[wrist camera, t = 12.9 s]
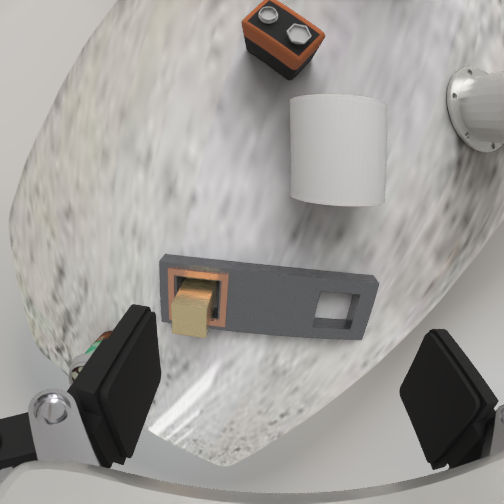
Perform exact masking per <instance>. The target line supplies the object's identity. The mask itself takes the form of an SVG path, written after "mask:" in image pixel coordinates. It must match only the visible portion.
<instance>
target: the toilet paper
mask: <svg viewBox="0 0 504 504" xmlns="http://www.w3.org/2000/svg"><path fill="white" fill-rule="evenodd" d="M386 162H387V104H386V103H385V102H383V101H381V100H378V99H374V98H369V97H364V96H357V95H348V94H310V95H302V96H297V97H293V98H291V99H290V165H291V184H290V195H291V197H292V198H294V199H297V200H300V201H304V202H309V203H316V204H323V205H334V206H375V205H380V204H383V203H384V200H385V184H386Z"/></svg>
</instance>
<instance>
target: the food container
mask: <svg viewBox="0 0 504 504" xmlns="http://www.w3.org/2000/svg"><path fill="white" fill-rule="evenodd" d="M111 333H112V331H108V332H105V333H103V334H102V335H101V336H100V337H99V338H98V339H97V340H96V341H95V342H94V344H93V345H92V346H91V347H90V348H89V349H88V350H87V351H86V353H85V354H82V355H79V356H77V357H76V358H75V359H74V360H73V362H72V364H71V367H70V370H69V382H70V385H72V383H73V382H74V380H75V379H76V377H77V376H78V374H79V373H80V371H81V370H82V368H83V367H84V365H85V364H86V362H87V361H88V359H89V358H90V357H91V355H92V354H93V352H94V351H95V349H96V348H97V347H98V345H99V344H100V342H101V341H102V340H103V339H105V338H107V339H108V337H109V336H110V334H111Z"/></svg>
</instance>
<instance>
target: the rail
mask: <svg viewBox="0 0 504 504" xmlns="http://www.w3.org/2000/svg"><path fill="white" fill-rule="evenodd" d="M159 268H160V297H161V316H162V322H168V323H172V311H171V304H172V302H173V300H174V298H175V296H176V294H177V293H178V291H179V289H180V287H181V277H188V278H197V279H205V280H214V281H220V287H219V305H218V309H217V308H214V311H213V315H212V318H211V322H210V325H209V328H211V329H219V330H227V331H236V332H245V333H255V334H266V335H278V336H291V337H305V338H322V339H344V340H362V338H363V335H364V332H365V329H366V326H367V323H368V320H369V317H370V313H371V310H372V307H373V304H374V300H375V297H376V294H377V290H378V287H379V282H378V281H377V280H376V278H375V277H374V276H373V275H363V274H352V273H342V272H332V271H321V270H311V269H301V268H291V267H281V266H272V265H262V264H252V263H243V262H233V261H224V260H215V259H205V258H196V257H187V256H178V255H169V254H165V255H164V256H163V257H162V259H161V260H160V261H159ZM320 291H325V292H337V293H349V294H353V298H352V301H351V305H350V309H349V312H348V316H347V319H346V320H342V319H326V318H314V317H315V312H316V308H317V303H318V299H319V294H320Z"/></svg>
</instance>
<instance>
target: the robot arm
mask: <svg viewBox="0 0 504 504" xmlns="http://www.w3.org/2000/svg"><path fill="white" fill-rule="evenodd" d="M447 106H448V111H449V115H450V118H451V121H452V124H453V126H454V128H455V130H456V132H457V133H458V135H459V136H460V138H461V139H462V140H463V141H464V142H465V143H466V144H467V145H468V146H469V147H471V148H472V149H474V150H476V151H480V152H487V153H488V152H493V151H495V150H497V149H499V148H500V147H501V146H502V144H504V71H503V72H497V73H491V74H488V73H486V72H485V71H484V70H482V69H479V68H476V67H465V68H462V69H460V70H458V71H457V72H455V74H454V75H453V76H452V78H451V80H450V82H449V85H448V89H447ZM160 380H161V367H160V358H159V348H158V337H157V325H156V314H155V312H151V310H150V308H149V307H147V306H141V305H135V304H133V305H131V306H130V308H129V309H128V311H127V312H126V313H125V315H124V316H123V317H122V319H121V320H120V322H119V323H118V324H117V326H116V327H115V329H114V330H113V331H112V333H111V334H110V336H109V337H108V339H107V338H105V339H103V340H102V341H101V342H100V344H99V345H98V347H97V348H96V349H95V351H94V352H93V354H92V355H91V357H90V358H89V359H88V361H87V362H86V364H85V365H84V367H83V368H82V370H81V371H80V373H79V374H78V376H77V377H76V379H75V380H74V382H73V383H72V385H71V386H70V388H69V389H68V391H67V392H65V391H63V390H60V389H47V390H44V391H41V392H39V393H38V394H36V395H35V396H34V397H33V398H32V400H31V401H30V404H29V408H28V412H27V413H23V414H20V415H15V416H12V417H7V418H3V419H0V504H504V405H501V406H499V408H498V409H497V410H496V411H495V410H494V407H495V406H496V404H497V403H498V399H497V398H496V397H495V395H494V394H493V392H492V390H491V389H490V388H489V386H488V385H487V383H486V382H485V381H484V379H483V378H482V376H481V375H480V374H479V372H478V371H477V369H476V368H475V367H474V365H473V364H472V363H471V361H470V360H469V359H468V357H467V356H466V355H465V353H464V352H463V351H462V349H461V348H460V347H459V345H458V344H457V343H456V342H455V340H454V339H453V338H452V336H451V335H450V334H449V333H448V331H447V330H445V329H432V330H430V331H429V332H428V333H427V334H426V335H425V337H424V339H423V341H422V343H421V346H420V348H419V350H418V352H417V354H416V356H415V359H414V361H413V363H412V365H411V367H410V369H409V371H408V373H407V375H406V377H405V379H404V381H403V383H402V385H401V387H400V397H401V399H402V401H403V404H404V406H405V408H406V411H407V413H408V415H409V417H410V420H411V422H412V425H413V427H414V430H415V432H416V435H417V437H418V439H419V442H420V445H421V447H422V450H423V452H424V455H425V457H426V460H427V462H428V463H430V464H431V466H432V469H433V470H435V469H438V468H442V467H445V466H446V464H449V469H448V470H446V471H443V472H439V473H435V474H431V475H428V476H424V477H420V478H416V479H411V480H407V481H402V482H398V483H392V484H387V485H382V486H375V487H368V488H361V489H353V490H344V491H333V492H319V493H289V494H288V493H283V494H282V493H281V494H280V493H251V492H237V491H226V490H216V489H209V488H202V487H195V486H188V485H182V484H177V483H171V482H166V481H160V480H156V479H151V478H147V477H143V476H139V475H135V474H130V473H125V472H121V471H117V470H113V469H110V467H111V466H112V463H113V462H115V463H118V464H121V465H124V462H125V460H126V457H127V458H131V457H132V455H133V453H134V450H135V447H136V444H137V442H138V439H139V436H140V433H141V431H142V428H143V425H144V423H145V420H146V417H147V415H148V412H149V409H150V407H151V404H152V401H153V399H154V396H155V394H156V391H157V388H158V386H159V383H160Z"/></svg>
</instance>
